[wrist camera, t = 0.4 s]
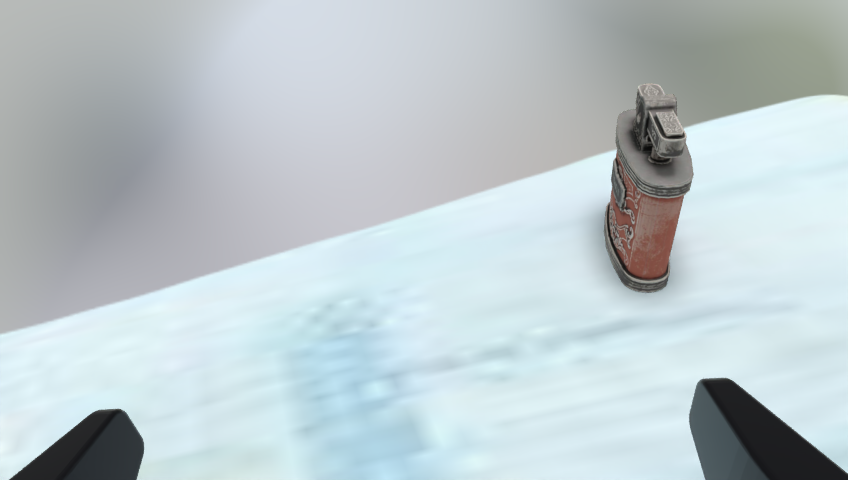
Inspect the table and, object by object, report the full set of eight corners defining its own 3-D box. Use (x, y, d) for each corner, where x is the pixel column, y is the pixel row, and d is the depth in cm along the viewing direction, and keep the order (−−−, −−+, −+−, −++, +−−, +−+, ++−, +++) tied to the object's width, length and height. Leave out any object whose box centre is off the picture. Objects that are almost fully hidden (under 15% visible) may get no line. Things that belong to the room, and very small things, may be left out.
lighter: (596, 208, 38) (612, 70, 31) (648, 207, 37) (674, 66, 31) (617, 292, 32) (641, 142, 25) (678, 292, 31) (719, 138, 25)
